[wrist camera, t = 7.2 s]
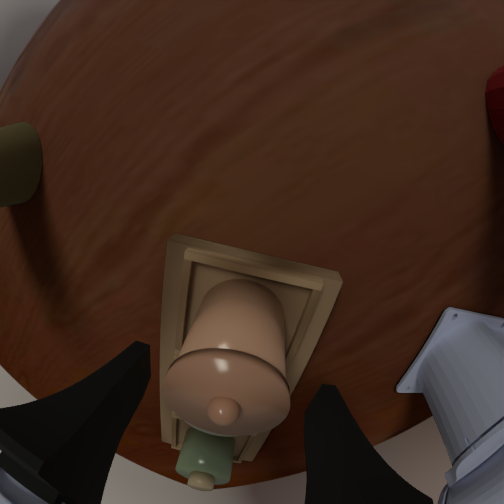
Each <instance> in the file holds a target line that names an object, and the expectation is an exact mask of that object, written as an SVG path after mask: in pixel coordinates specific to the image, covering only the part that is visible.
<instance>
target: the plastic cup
mask: <svg viewBox="0 0 504 504" xmlns="http://www.w3.org/2000/svg"><path fill="white" fill-rule="evenodd" d="M486 102H487V110H488V113H489V117H490V120H491V124H492V127H493V129H494V131H495V132H496V134H497V136H498V138H499V140H500V142H501V143H502V144H503V145H504V66H502V67H500V68H498V69H497V70H496V72H494V73H493V74H492V75H491V76H490V78H489V79H488V82H487V87H486Z"/></svg>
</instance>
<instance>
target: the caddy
mask: <svg viewBox="0 0 504 504" xmlns="http://www.w3.org/2000/svg"><path fill="white" fill-rule="evenodd" d="M231 279H247V280H252V281H255V282H258V283H260V284H262V285H264V286H266V287H267V288H269V289H270V290H271V291H272V292H273V293H274V294H275V295H276V296H277V297H278V299H279V300H280V302H281V304H282V307H283V311H284V331H285V366H286V380H287V382H288V385H289V388H290V396H291V394H292V392H293V390H294V388H295V386H296V384H297V383H298V381H299V379H300V377H301V375H302V373H303V371H304V369H305V367H306V365H307V363H308V361H309V358H310V356H311V354H312V352H313V350H314V348H315V346H316V344H317V342H318V339H319V337H320V335H321V333H322V331H323V328H324V326H325V324H326V322H327V319H328V317H329V315H330V312H331V310H332V308H333V305H334V303H335V300H336V298H337V296H338V293H339V291H340V288H341V286H342V283H343V281H342V279H341V277H340V275H339V272H337V271H332V270H328V269H324V268H320V267H315V266H311V265H307V264H303V263H299V262H294V261H290V260H286V259H282V258H277V257H273V256H269V255H265V254H261V253H256V252H252V251H248V250H244V249H239V248H235V247H231V246H227V245H223V244H218V243H214V242H210V241H206V240H201V239H197V238H193V237H189V236H184V235H180V234H176V233H175V234H174V235H173V236H172V237H171V238H170V239H169V240H168V241H167V249H166V259H165V270H164V282H163V296H162V312H161V335H160V411H161V432H162V441H163V442H167V443H170V444H172V448H174V449H177V450H181V448H182V445H183V441H184V438H185V434H186V431H187V430H188V429H189V428H191V427H192V426H190V425H189V424H188V423H186V422H185V421H184V420H183V419H182V418H181V417H179V416H178V415H177V414H176V413H175V412H174V411H173V410H172V409H171V408H170V407H169V405H168V404H167V402H166V401H165V399H164V396H163V392H162V384H163V380H164V378H165V376H166V373H167V371H168V369H169V367H170V365H171V364H172V363H173V361H174V360H176V359H177V358H178V355H179V353H180V351H181V348H182V346H183V344H184V341H185V339H186V337H187V334H188V332H189V330H190V327H191V325H192V323H193V320H194V318H195V316H196V314H197V311H198V309H199V307H200V305H201V302H202V300H203V298H204V296H205V295H206V293H207V292H208V291H209V290H210V289H211V288H212V287H214V286H215V285H217V284H219V283H220V282H223V281H226V280H231ZM271 430H272V429H270V430H268V431H265V432H262V433H258V434H253V435H243V436H233V437H234V439H235V442H236V443H235V449H234V456H233V462H235V463H241V462H242V460H246V461H253V459H254V458H255V456H256V454H257V453H258V451H259V450H260V448H261V446H262V445H263V443H264V441H265V440H266V438H267V437H268V435H269V433H270V431H271Z"/></svg>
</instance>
